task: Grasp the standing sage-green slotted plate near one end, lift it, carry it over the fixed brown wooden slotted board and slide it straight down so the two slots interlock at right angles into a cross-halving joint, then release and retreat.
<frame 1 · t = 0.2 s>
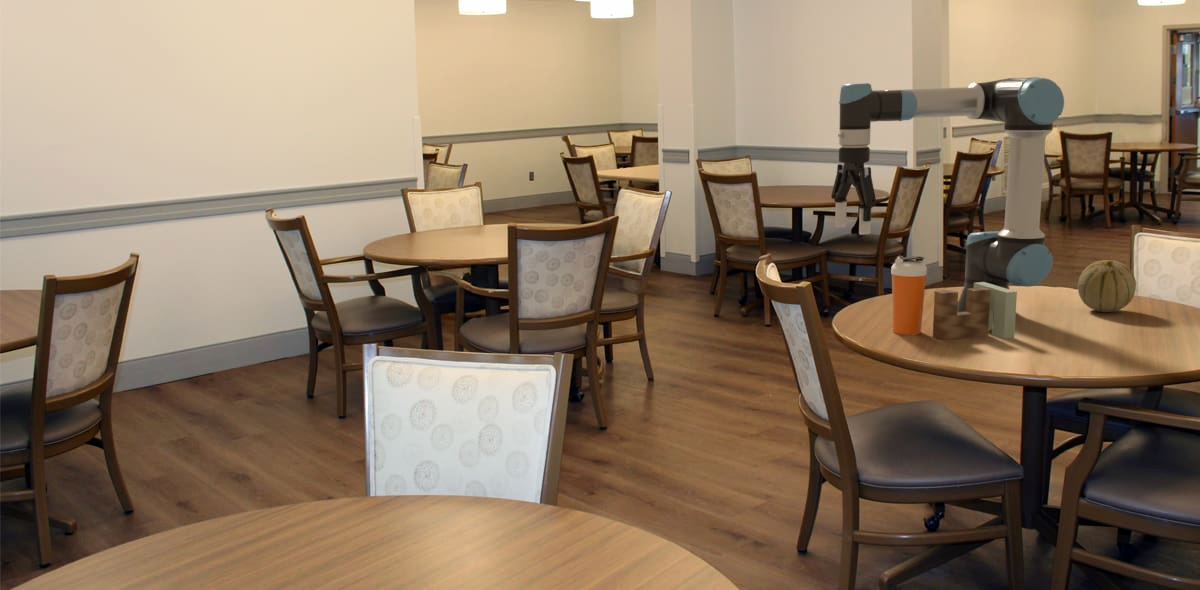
hand: (852, 230, 256), 28 cm above the table, fingers open, 13 cm apart
brown wooden slotted board: (960, 336, 260), on the table
cantaloupe: (1104, 312, 283), on the table
slot plate: (992, 332, 263), on the table
shaker bottle: (906, 332, 265), on the table
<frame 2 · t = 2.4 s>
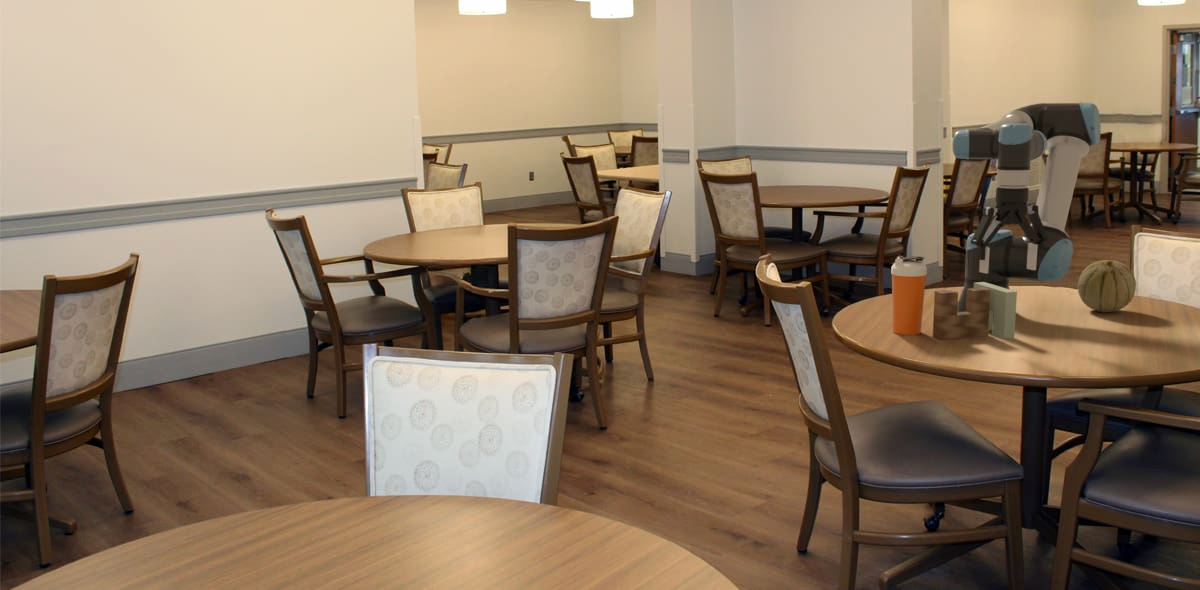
hand: (1007, 271, 254), 17 cm above the table, fingers open, 13 cm apart
nothing on the table moved.
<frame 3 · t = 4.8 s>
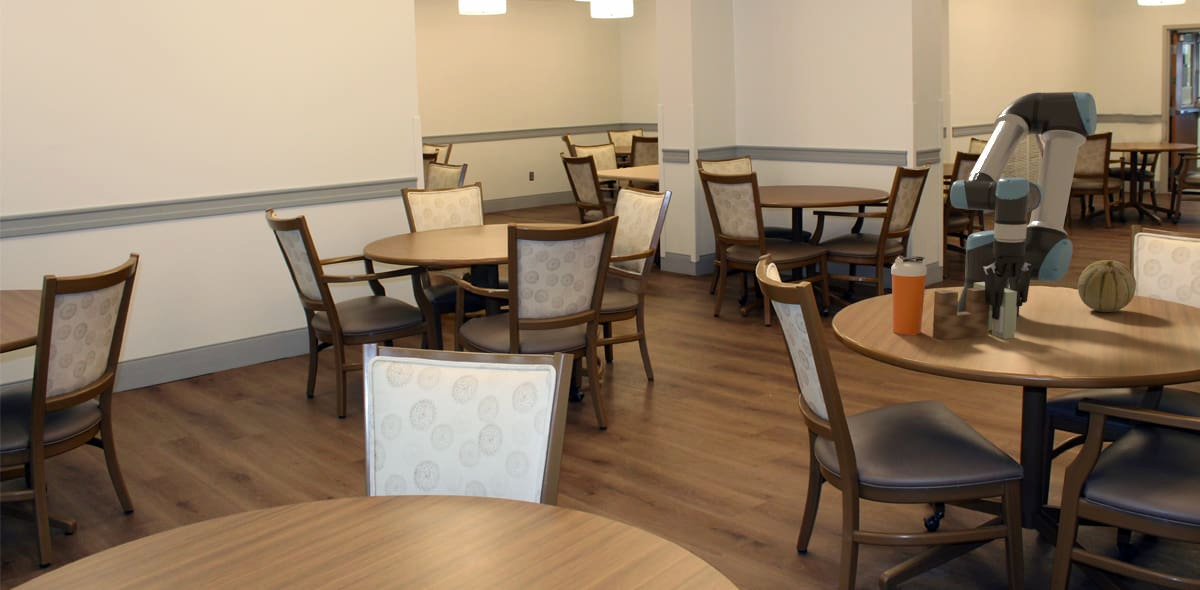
hand: (1004, 330, 258), 2 cm above the table, fingers closed on slot plate, 3 cm apart
slot plate: (992, 332, 263), on the table, touching gripper
everything else where it was.
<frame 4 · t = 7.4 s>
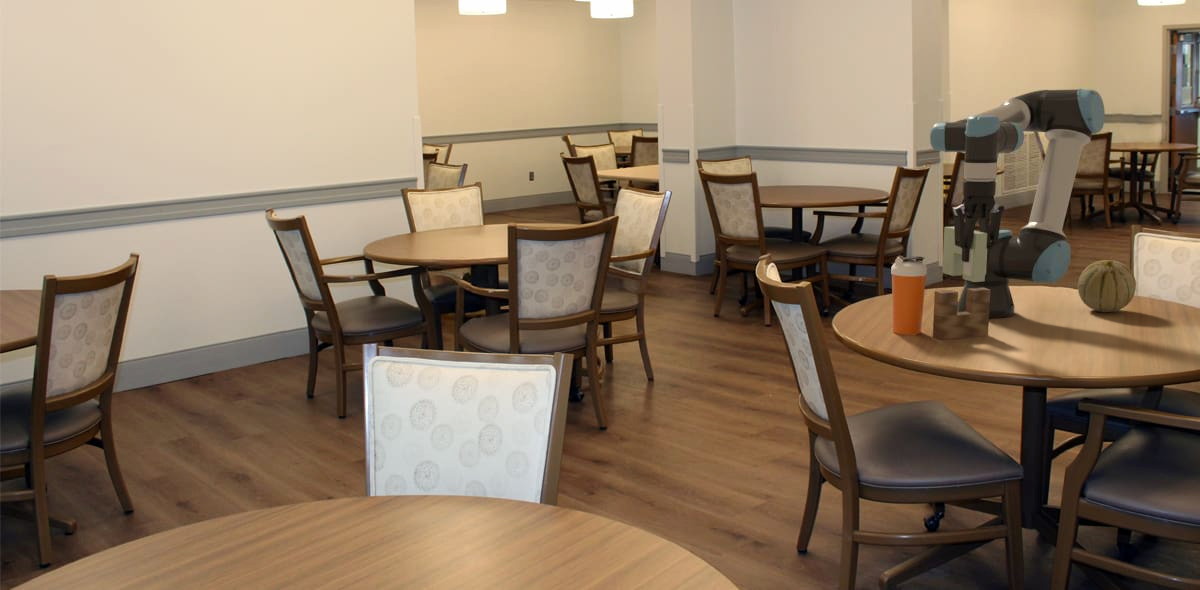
hand: (974, 274, 251), 17 cm above the table, fingers closed on slot plate, 3 cm apart
slot plate: (962, 276, 256), point 16 cm above the table, touching gripper
everything else where it was.
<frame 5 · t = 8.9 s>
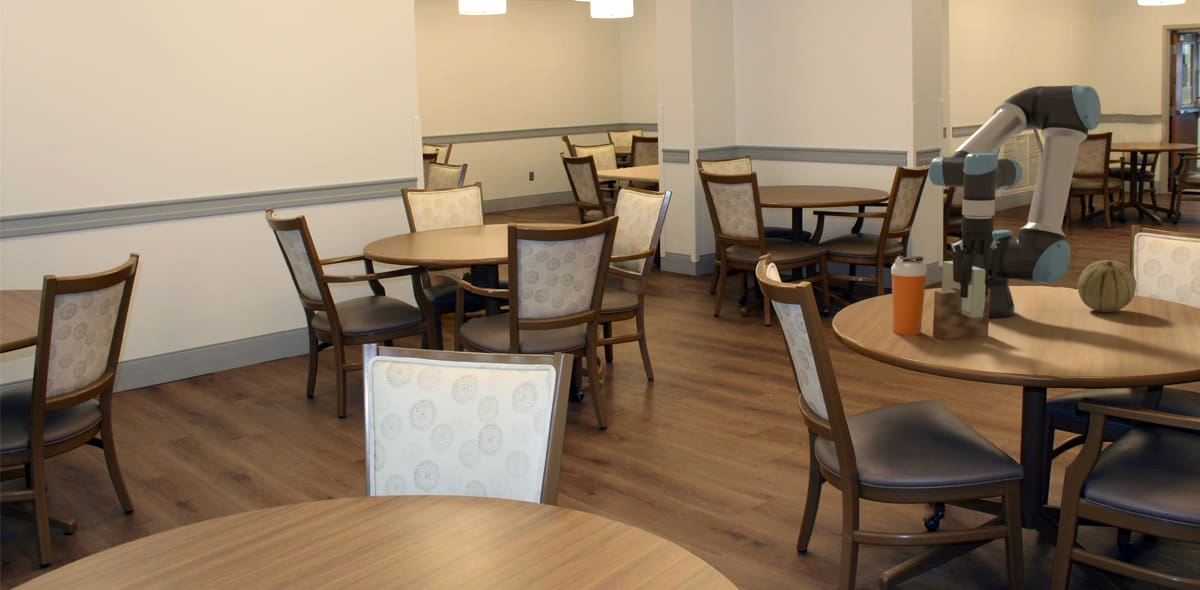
hand: (973, 309, 253), 8 cm above the table, fingers closed on slot plate, 3 cm apart
slot plate: (961, 311, 258), point 7 cm above the table, touching gripper
everything else where it was.
when the fingers open (3 cm above the table, at t = 10.2 s): slot plate stays where it is, resting on brown wooden slotted board.
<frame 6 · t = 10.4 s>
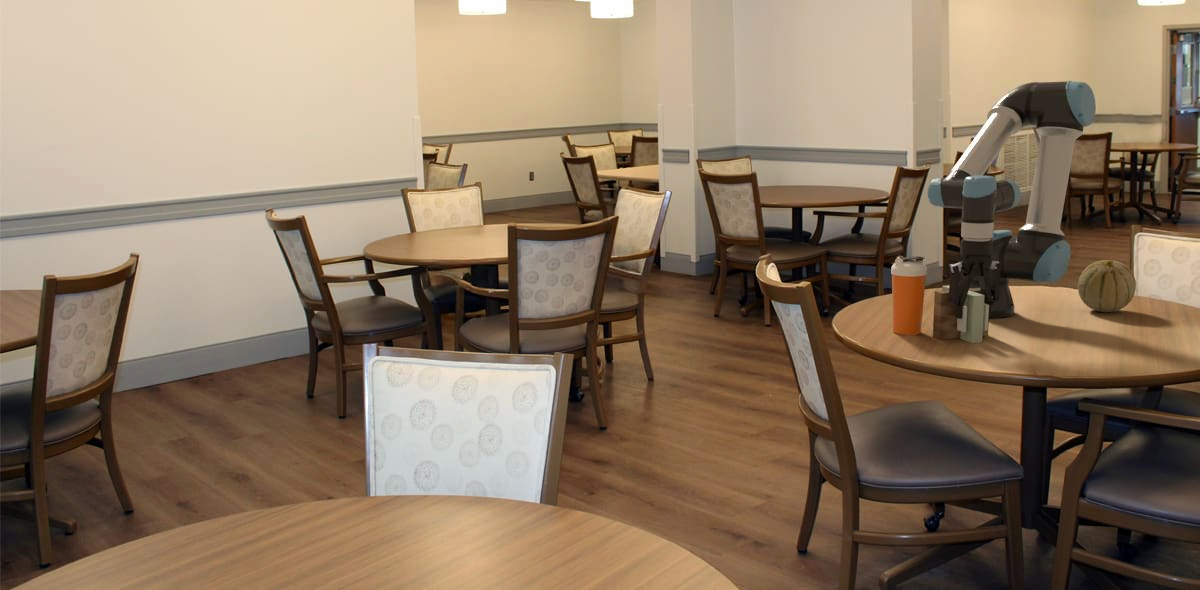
hand: (972, 329, 254), 3 cm above the table, fingers open, 5 cm apart
slot plate: (960, 336, 260), resting on brown wooden slotted board
everything else where it was.
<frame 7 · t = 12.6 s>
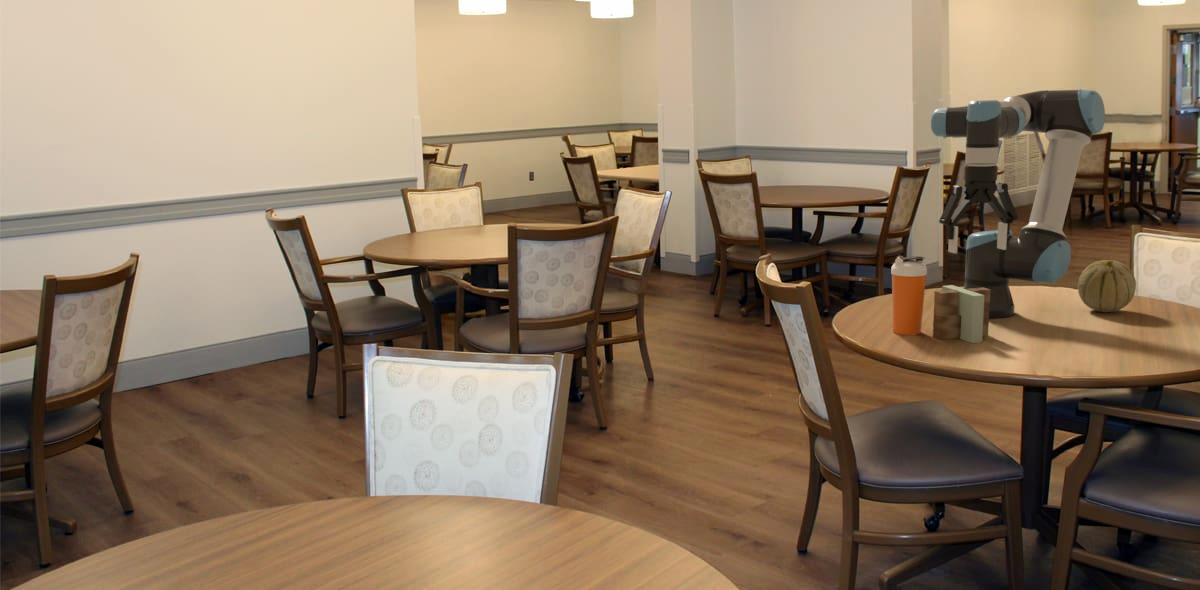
hand: (977, 250, 250), 23 cm above the table, fingers open, 13 cm apart
nothing on the table moved.
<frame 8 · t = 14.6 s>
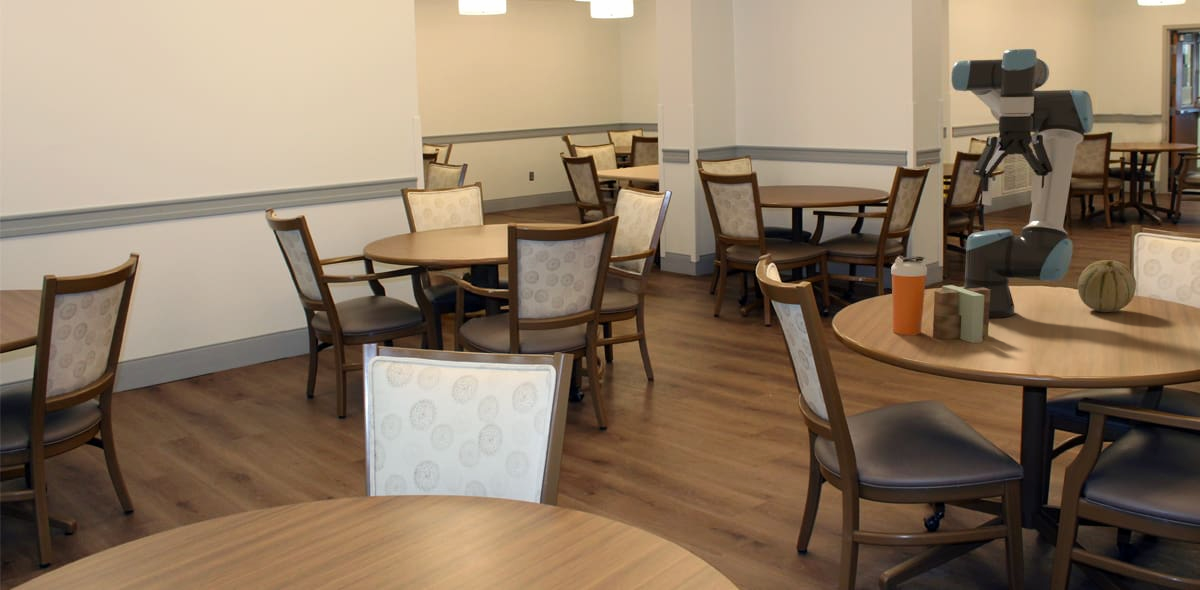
hand: (1011, 203, 247), 35 cm above the table, fingers open, 13 cm apart
nothing on the table moved.
at the end: slot plate 0.1 cm off-centre on the brown wooden slotted board, point 0.0 cm above the brown wooden slotted board's base; slot plate tilted 0°; the gripper is holding nothing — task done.
